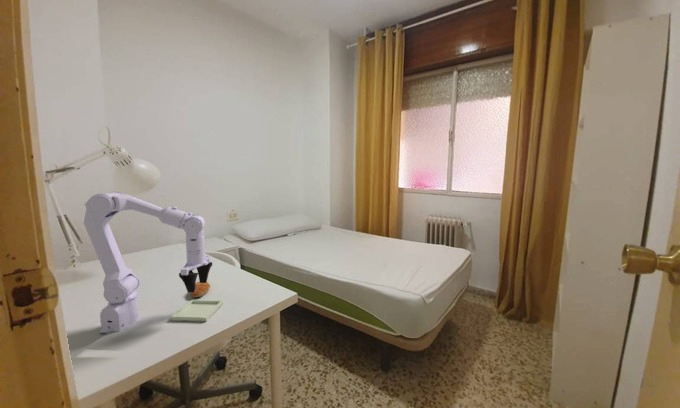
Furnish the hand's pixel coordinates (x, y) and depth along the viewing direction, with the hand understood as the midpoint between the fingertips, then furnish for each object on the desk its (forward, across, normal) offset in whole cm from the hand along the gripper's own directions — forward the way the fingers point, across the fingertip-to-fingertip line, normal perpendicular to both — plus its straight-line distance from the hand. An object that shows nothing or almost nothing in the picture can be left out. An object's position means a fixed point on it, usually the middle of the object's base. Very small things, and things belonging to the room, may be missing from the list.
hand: (197, 287), depth 93 cm
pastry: (+10, +12, +9) cm, 18 cm away
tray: (+9, 0, 0) cm, 9 cm away
